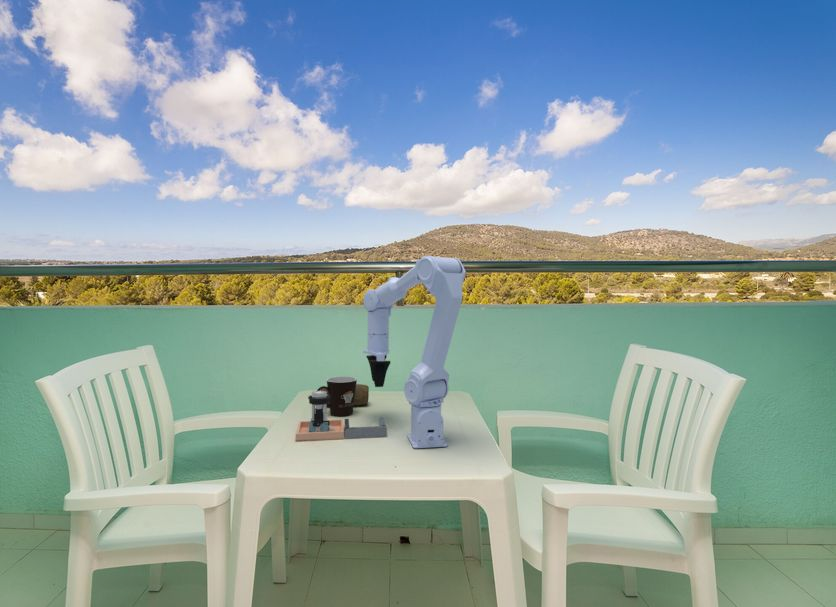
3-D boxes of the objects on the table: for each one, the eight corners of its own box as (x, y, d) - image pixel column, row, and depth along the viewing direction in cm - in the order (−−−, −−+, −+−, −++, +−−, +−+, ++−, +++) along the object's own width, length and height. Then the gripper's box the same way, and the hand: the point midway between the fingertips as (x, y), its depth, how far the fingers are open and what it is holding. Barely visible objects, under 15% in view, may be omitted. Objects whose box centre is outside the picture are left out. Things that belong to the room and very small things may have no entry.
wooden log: (367, 402, 144) (368, 381, 143) (369, 407, 137) (370, 386, 137) (320, 404, 141) (320, 382, 140) (319, 409, 134) (319, 387, 134)
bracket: (386, 436, 110) (386, 427, 109) (345, 438, 108) (345, 428, 108) (382, 426, 118) (382, 417, 118) (344, 428, 116) (344, 418, 116)
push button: (337, 429, 114) (337, 390, 114) (332, 436, 109) (333, 395, 108) (311, 428, 114) (311, 389, 114) (305, 435, 109) (305, 394, 108)
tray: (343, 439, 107) (343, 431, 107) (295, 441, 105) (295, 433, 105) (342, 426, 117) (342, 419, 117) (298, 428, 115) (298, 421, 115)
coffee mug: (354, 409, 135) (354, 376, 134) (358, 416, 126) (358, 381, 126) (315, 411, 132) (315, 377, 131) (316, 419, 123) (316, 383, 123)
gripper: (361, 331, 128) (361, 378, 128) (365, 336, 113) (364, 390, 114) (386, 331, 129) (385, 378, 129) (392, 336, 115) (392, 389, 115)
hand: (377, 383), depth 122 cm, fingers open, 7 cm apart
